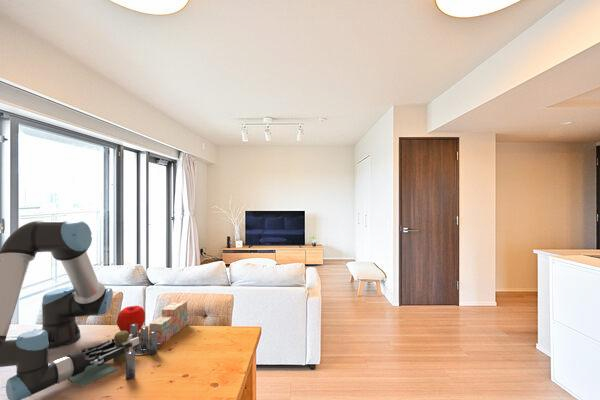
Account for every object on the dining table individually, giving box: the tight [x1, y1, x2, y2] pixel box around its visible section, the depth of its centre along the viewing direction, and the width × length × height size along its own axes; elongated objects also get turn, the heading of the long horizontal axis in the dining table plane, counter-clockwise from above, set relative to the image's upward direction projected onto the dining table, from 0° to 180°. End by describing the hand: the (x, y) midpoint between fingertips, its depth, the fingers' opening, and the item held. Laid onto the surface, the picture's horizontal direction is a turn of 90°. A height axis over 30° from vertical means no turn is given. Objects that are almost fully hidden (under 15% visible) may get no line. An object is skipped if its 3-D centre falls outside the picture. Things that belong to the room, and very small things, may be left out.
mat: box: [67, 362, 118, 388], centre depth 109 cm, size 16×12×1 cm
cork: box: [112, 330, 130, 364], centre depth 118 cm, size 6×6×11 cm
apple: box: [116, 305, 146, 335], centre depth 139 cm, size 12×12×13 cm
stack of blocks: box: [148, 300, 188, 345], centre depth 140 cm, size 21×6×12 cm, turn 171°
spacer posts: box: [125, 323, 158, 381], centre depth 118 cm, size 25×18×9 cm
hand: (134, 338), depth 122 cm, fingers closed on cork, 4 cm apart
